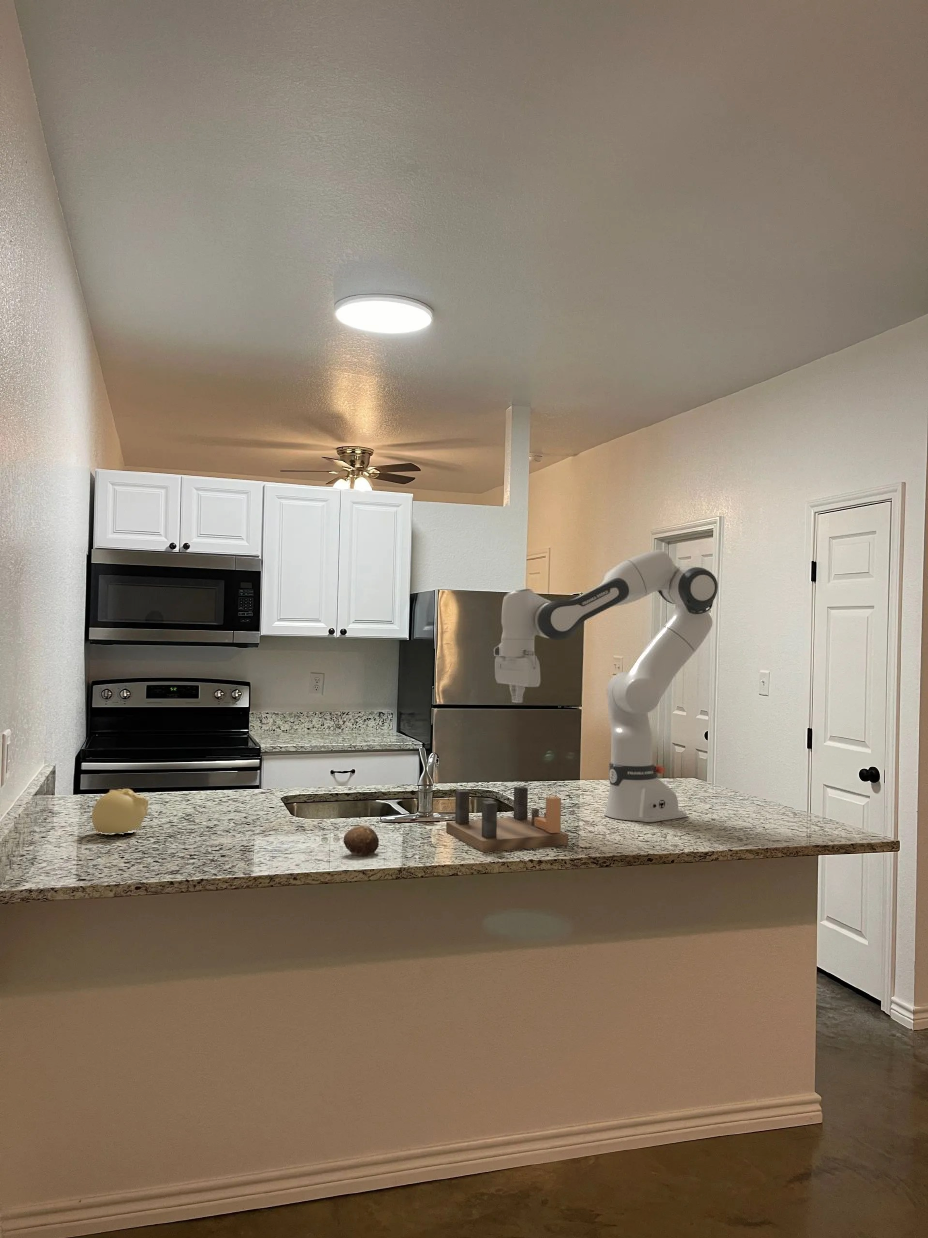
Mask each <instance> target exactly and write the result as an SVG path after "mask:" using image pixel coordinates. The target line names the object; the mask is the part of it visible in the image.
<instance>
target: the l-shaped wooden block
mask: <svg viewBox="0 0 928 1238" xmlns="http://www.w3.org/2000/svg"><path fill="white" fill-rule="evenodd" d="M561 798H562V797H558V796H546V797H545V812H546V818H544V816H539V817H534V826H536V827H539V828H541V829H543V830H546V831H547V832H549V833H560V832H561V831H562V830H561V824H562V823H561V820H562V819H561V818H562V817H561V816H562V799H561Z"/></svg>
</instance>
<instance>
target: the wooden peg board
mask: <svg viewBox="0 0 928 1238" xmlns="http://www.w3.org/2000/svg"><path fill="white" fill-rule="evenodd" d="M528 791H529V787H526V786H523V785H521V786H514V787H513V816H510V817H509V816H507V817H498V803H497V802H496V801H493V800H488V801H485V800H484V801H481V819H470V792H471V791H470V790H468V789H457V790H456V789H455V801H454V802H455V813H454V815H455V816H454V820H453V821H452V820H451V821H446V822H445V823H446V824H445V832H446V833H448V834H449V835H451V836H453V837H454V838H456V839H458V840H459V841H462V842H464V843H465V844H467V845H469V846H470V847H473V848H474V849H476V850H478V851H479V852H481V853H487V852H498V851H509V850H510V851H511V850H520V849H521V850H522V849H531V848H543V847H544V848H545V847H554V846H555V847H556V846H566V845H567V846H568V844H569V833H568V832H564V831H562V830H561V832H560V833H549V832H547V831H546V830H543V829H541V828H539V827H536V826H534V817H540V808H531V817H530V816H529V817H528V815H529V813H528V808H529V806H528V805H529V804H528V803H529V799H528V797H529V792H528ZM543 818H546V811H544V812H543Z"/></svg>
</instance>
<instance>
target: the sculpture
mask: <svg viewBox="0 0 928 1238" xmlns="http://www.w3.org/2000/svg"><path fill="white" fill-rule="evenodd" d="M148 806H149V800H148V798H147V797H146V796H143V795H140V794H138V793H135V792H134V791H133V789H130V788H122V789H121V788H118V789H109V791H108V792H107V793H106V794H104V795H102V796H101V797H100V798H98V799H97V801H96V802H95V804H94V806H93V809H92V812H91V822H92V826H93V828H94V829H95V831H96V832H97V831H98V832H102V833H122V832H128V831H132V830H135V829H138V828H139V827H142V826H141V825H142V824H143V822H144V819H145V818H146V817H147V816H148V811H149V809H148ZM139 829H140V828H139ZM139 829H138V830H139ZM98 832H97V833H98Z"/></svg>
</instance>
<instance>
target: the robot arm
mask: <svg viewBox="0 0 928 1238" xmlns="http://www.w3.org/2000/svg"><path fill="white" fill-rule="evenodd" d="M670 556H671V555H669V554H668V553H667V552H665V551H663V550H661V549H656V550H655V549H654V550H651V551H647V552H644V553H641V554H637V555H636V556H633V557H631V558H628V559H626V560H624V561H622V562H620V563H619V564H617V565H616V566H614V567H612V568H611V569H610V570H609V571H607V572H606V573H605V574H604V576H603V579H602V582H601V583H600V584H599V585H597V586H596V587H595V588H593V589H591V590H588V591H587V592H584V593H582V594H581V595H579V596H577V597H575V598H572V599H568V600H565V599H564V600H554V601H553V600H552V601H551V600H549V599H547V598H544V597H542V596H540V594H537V593H536V592H534V591H533V590H532V589H530V588H523V589H517V590H513V591H509V592H508V593H507V592H506V594H505V595H504V597H503V600H502V607H501V626H502V633H501V637H500V638H501V640H500V643H499V644H498V645H497V646H496V647H494V648H493V656H494V657H495V659H494V677H495V680H496V683H497V684H504V685H509V692H510V695H511V702H512V703H518V704H519V703H523V701H524V699H523V697H524V693H525V691H526V687H527V688H538V687H539V686H540V685H541V666H540V660H539V658H538V657H537V655H536V654H535V637H536V636H540V637H543V638H544V639H551V640H555V641H561V640H565V639H568V638H569V637H571V636H572V635H574V633H575V632H576V631H577V629H578V628H579V627H580V626H581V625H582V624H583V623H584V622H585V621H587V620H589V619H591V618H593V617H594V616H597V615H598V614H600V613H602V612H604V611H606V610H608V609H610V608H613V607H617V606H624V605H628V604H630V603H633V602H636V601H639V600H641V599H643V598H645V597H647V596H649V595H652V593H655V592H657V593H658V594H659V596H660V597H661V598H662V599H663V600H664V601H666V602H668V603H669V604H672V605H674V610H673V612H672V615H671V616H670V619H669V620H668V621H666V623H665V624H664V625H663V626H662V627H661V628H660V629H659V630H658V631H657V633H656V634H655V635H654V636H653V637H652V638H651V640H650V641H649V642H648V643H647V644H646V646H644V648H643V649H642V652H641V654H640V656H639V657H638V659H637V661H636V662H635V664H634V665H633V666H632V667H631V669H630V671H621V672H619V673H616V674H615V675H614V676H612V678H610V680H609V681H608V683H607V686H606V695H607V707H608V717H609V726H610V744H611V745H610V750H611V751H610V762H609V765H608V777H609V778H608V780H609V781H608V782H609V788H608V789H609V791H608V797H607V803H606V806H605V807H606V808H605V810H604V816H606V817H609V818H612V819H616V820H623V821H636V822H643V823H654V822H660V821H667V820H675V819H681V818H687V817H688V813H687V812H686V811H685V810H683V809H680V808H679V802H678V801H679V800H678V796H677V794H676V792H675V791H674V790H673V789H672V788H670V787H669V786H668V785H666V784H665V782H663V781H662V780H661V779H659V778H658V777H659V776H658V774H661V775H663V774H664V773H665V771H666V768H665V767H664V766H661V765H657V766H656V765H654V764H653V734H652V729H651V726H650V719H649V713H650V712H653V710H655V709H656V707H658V705H659V703H660V700H661V698H662V697H663V695H664V694H665V692H666V691H667V689H668V687H669V686H670V684H671V683H672V681H673V679H674V678H675V676H676V675H677V674H678V672H679V671H680V670H681V668H682V667H683V666H684V665H685V664H686V663H687V662H688V660H689V659H690V658H691V657H692V656H693V655H694V654H695V653H696V652H697V650H698V649H699V648H700V646H701V645H702V643H703V642H704V641H705V639H706V638H707V636H708V634H709V633H710V631H711V629H712V627H713V617H712V615H711V614H710V613H709V611H710V610H711V609H712V607H713V605H714V604H713V603H714V600H715V599H716V597H717V594H718V589H719V588H718V587H719V585H718V584H719V583H718V580H717V577H716V576H715V575H714V574H713V573H712V572H711V571H710V570H708V569H706V568H704V567H700V566H693V565H684V566H683V565H680V566H679V565H675V563H674V562H673V559H672V557H670Z"/></svg>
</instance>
